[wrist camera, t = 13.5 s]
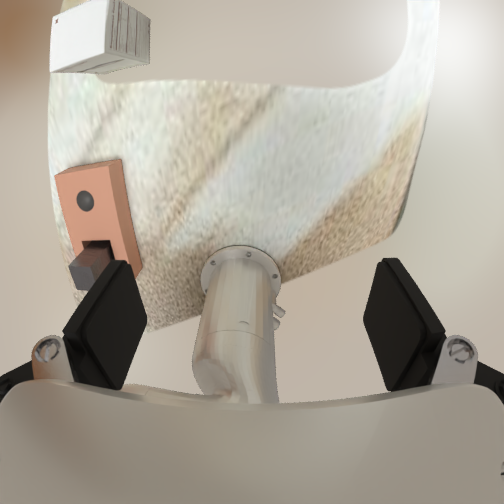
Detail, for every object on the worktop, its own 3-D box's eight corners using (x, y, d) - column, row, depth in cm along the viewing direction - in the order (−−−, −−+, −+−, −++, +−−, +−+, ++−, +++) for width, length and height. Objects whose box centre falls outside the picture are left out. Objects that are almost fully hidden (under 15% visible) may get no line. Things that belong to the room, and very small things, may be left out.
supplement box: (103, 75, 29) (46, 74, 18) (104, 30, 25) (51, 15, 14) (151, 65, 28) (104, 54, 18) (152, 17, 25) (109, -10, 14)
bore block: (68, 168, 35) (54, 175, 32) (121, 159, 35) (108, 166, 31) (94, 266, 44) (83, 279, 41) (142, 267, 44) (134, 281, 41)
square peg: (99, 232, 41) (68, 266, 32) (119, 232, 41) (90, 267, 32) (104, 254, 43) (77, 289, 34) (124, 254, 43) (98, 291, 34)
